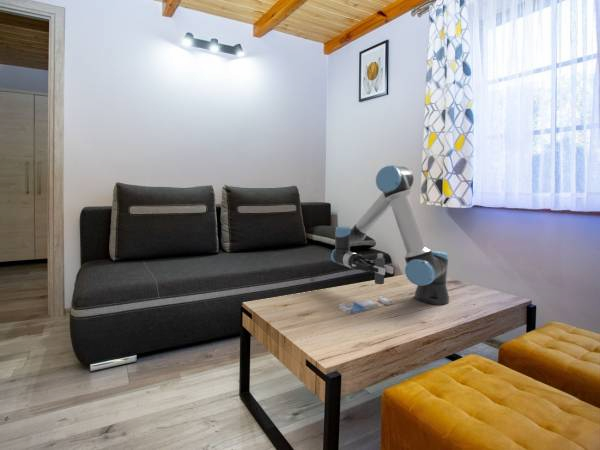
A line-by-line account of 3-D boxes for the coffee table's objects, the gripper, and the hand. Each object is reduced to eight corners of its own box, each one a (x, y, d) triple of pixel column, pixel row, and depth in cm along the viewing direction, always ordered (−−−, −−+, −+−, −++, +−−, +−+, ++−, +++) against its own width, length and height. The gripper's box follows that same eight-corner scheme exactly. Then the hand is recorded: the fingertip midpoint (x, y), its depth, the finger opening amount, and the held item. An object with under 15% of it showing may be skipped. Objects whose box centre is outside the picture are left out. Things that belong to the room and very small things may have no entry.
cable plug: (379, 281, 157) (380, 253, 155) (385, 283, 153) (386, 254, 152) (372, 282, 155) (373, 253, 153) (378, 284, 151) (379, 255, 150)
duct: (382, 299, 161) (382, 295, 161) (393, 304, 155) (393, 300, 155) (337, 308, 149) (338, 303, 149) (348, 314, 143) (348, 309, 142)
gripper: (367, 266, 174) (402, 277, 153) (339, 270, 165) (372, 282, 145) (368, 251, 173) (403, 260, 152) (340, 254, 164) (373, 264, 144)
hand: (388, 271), depth 149 cm, fingers closed on cable plug, 4 cm apart
